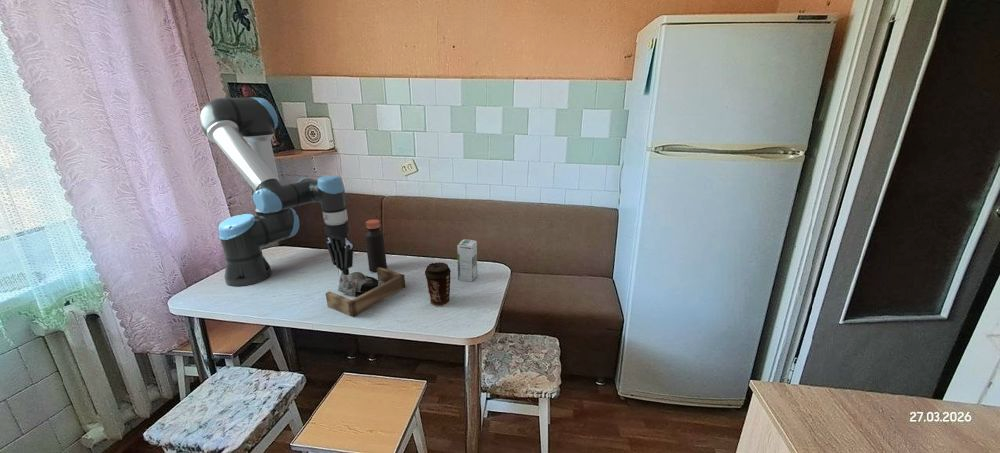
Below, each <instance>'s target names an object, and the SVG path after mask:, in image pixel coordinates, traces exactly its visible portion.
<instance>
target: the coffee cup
mask: <svg viewBox="0 0 1000 453" xmlns="http://www.w3.org/2000/svg"><path fill="white" fill-rule="evenodd" d="M424 275H425V279H426V283H427V284H426V285H427V291H428V294H429V295H430V300H429V301H430V302H429V303H430V305H431V306H434V307H440V308H441V307H444V306H446V305H448V304H449V302H450V296H451V268H450V267H449V264H448V263H445V262H442V261H441V262H437V261H436V262H431V263H429V264H428V265H427V266H426V269H425V270H424Z"/></svg>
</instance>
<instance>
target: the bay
mask: <svg viewBox="0 0 1000 453" xmlns="http://www.w3.org/2000/svg"><path fill="white" fill-rule="evenodd" d="M376 275H377V280H378V281H379V283H381V284H378V286H377V287H375V288H374V289H372V290H370V291H368V292H363V293H362V294H361V295H359V296H357V297H354V298H352V299H351V298H348V297H345V296H344V295H343V296H342V295H341V294H337V293H335V292H333V291H330V290H329V291H326V292H325V299H326V305H327V307H328V308H330V309H333V310H335V311H337V312H339V313H342V314H344V315H347V316H349V317H352V318H354V317H356V316H358V315H360V314H362V313H363V312H365V311H367V310H369V309H371V308H372V307H374V306H375V305H377V304H379V303H381V302H383V301H385V300H386V299H388V298H389V297H391V296H393V295H395V294H397V293H398V292H400V291H401V290H403V289H405V288H406V287H407V286H406V277H405V274H404V273H400V272H397V271H393V270H390V269H384V268H381V267H379V268H377V273H376Z"/></svg>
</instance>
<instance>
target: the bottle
mask: <svg viewBox="0 0 1000 453" xmlns="http://www.w3.org/2000/svg"><path fill="white" fill-rule="evenodd" d="M365 226H366V229H367V231H366V233H365V234H364V237H365V238H364V239H365V247H366V248H365V249H366V255H367V262H368V270H369V271H370V273H375V274H377V268H379V267H381V268H384V269H387V268H388V262H387V256H386V247H385V246H386V245H385V244H386V243H385V237H384V232H383V231H382V230H381V229H380V228H381V227H380V226H381V223H380V220H379V219H369V220H366V221H365Z"/></svg>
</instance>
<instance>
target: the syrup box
mask: <svg viewBox="0 0 1000 453" xmlns="http://www.w3.org/2000/svg"><path fill="white" fill-rule="evenodd" d="M456 247H457V250H456V251H457V252H456V253H457V280H458V281H462V282H471V283H472V282H474V280H475V279H476V277H477V276H478V241H477V240H474V239H462V240H461V241H460V242H459V243H458V244H457V246H456Z"/></svg>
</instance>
